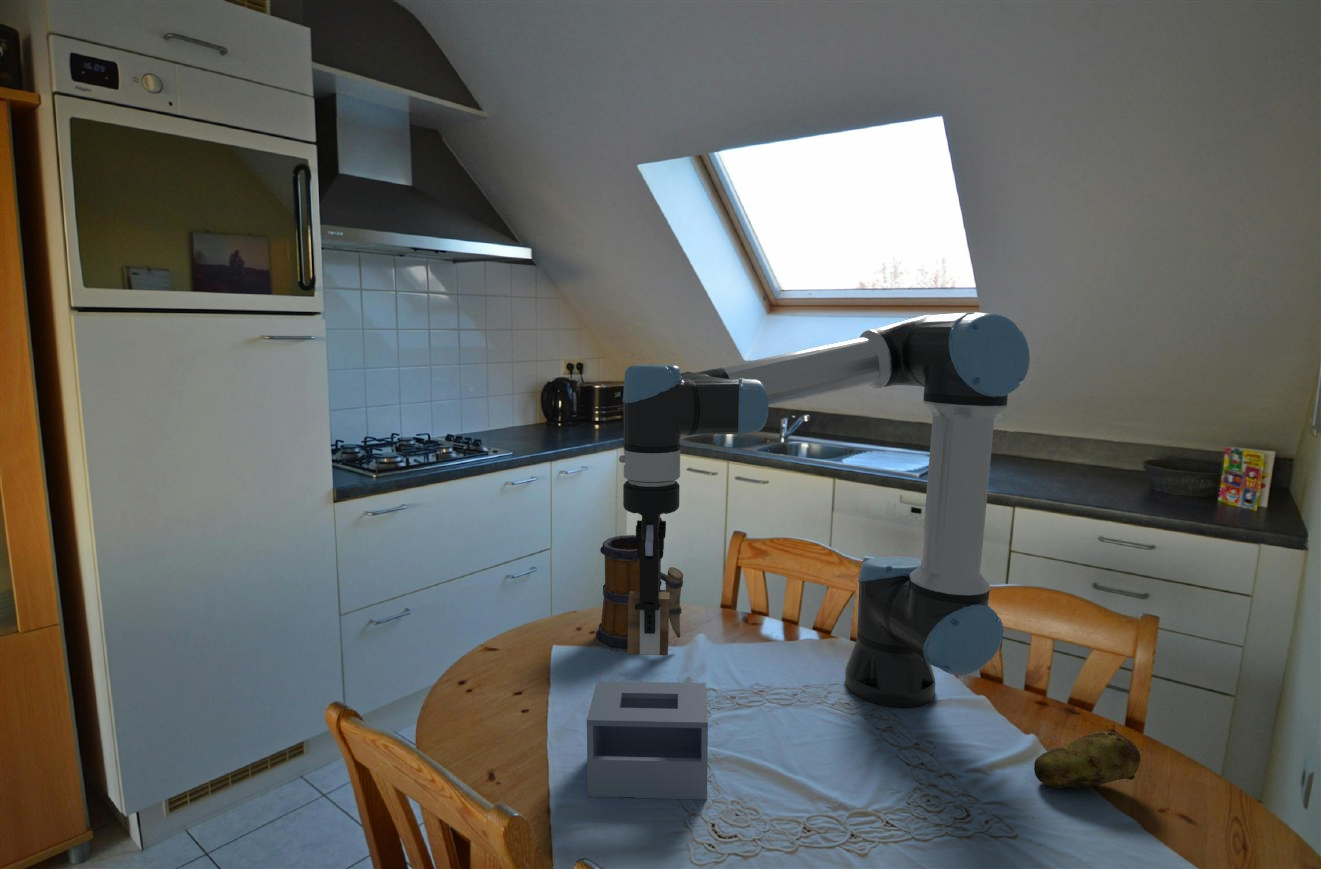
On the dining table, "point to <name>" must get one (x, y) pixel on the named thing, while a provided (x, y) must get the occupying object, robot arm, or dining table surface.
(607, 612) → the mug
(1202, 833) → the dining table surface
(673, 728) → the coin box
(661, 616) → the brown wooden block
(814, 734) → the dining table surface
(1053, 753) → the potato
